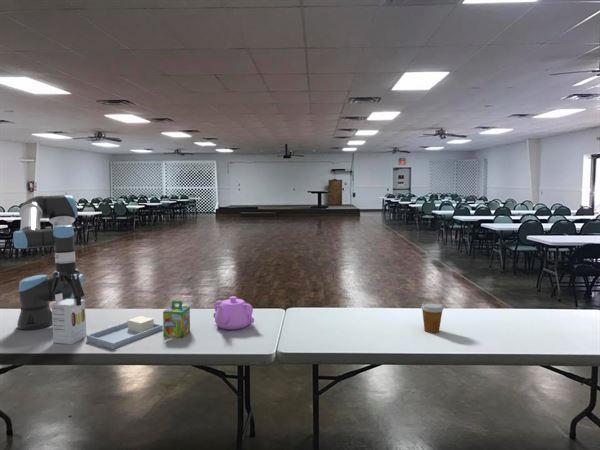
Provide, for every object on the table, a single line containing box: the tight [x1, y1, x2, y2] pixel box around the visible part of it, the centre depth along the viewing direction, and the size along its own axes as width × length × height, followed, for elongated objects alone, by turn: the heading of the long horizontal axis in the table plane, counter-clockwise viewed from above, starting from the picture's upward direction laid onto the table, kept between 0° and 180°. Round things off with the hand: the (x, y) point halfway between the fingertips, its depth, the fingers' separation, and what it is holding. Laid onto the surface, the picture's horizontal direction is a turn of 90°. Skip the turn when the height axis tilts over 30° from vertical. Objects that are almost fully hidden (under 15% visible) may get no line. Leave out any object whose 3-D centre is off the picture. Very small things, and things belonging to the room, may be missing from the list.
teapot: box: [213, 296, 255, 331], centre depth 197 cm, size 22×22×14 cm
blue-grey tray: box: [85, 321, 163, 350], centre depth 187 cm, size 18×25×3 cm
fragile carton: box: [127, 315, 155, 333], centre depth 194 cm, size 9×7×4 cm
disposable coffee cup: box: [420, 301, 444, 334], centre depth 190 cm, size 10×10×12 cm
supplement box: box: [50, 299, 88, 345], centre depth 183 cm, size 10×9×17 cm
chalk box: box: [162, 300, 191, 339], centre depth 189 cm, size 9×9×15 cm
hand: (68, 310), depth 182 cm, fingers open, 13 cm apart
